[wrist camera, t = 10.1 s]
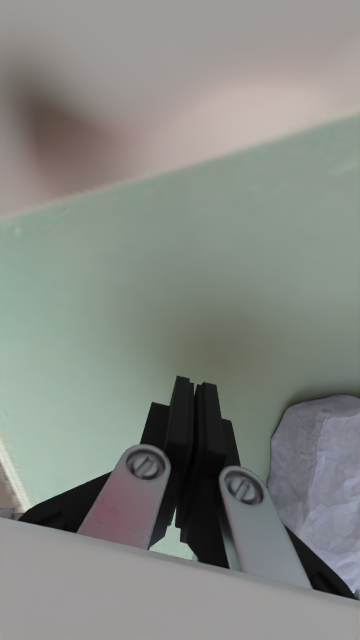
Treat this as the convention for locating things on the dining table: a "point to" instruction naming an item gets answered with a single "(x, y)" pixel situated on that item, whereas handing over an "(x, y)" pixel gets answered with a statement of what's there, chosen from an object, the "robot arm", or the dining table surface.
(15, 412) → the dining table surface
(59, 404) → the dining table surface
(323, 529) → the stone block
